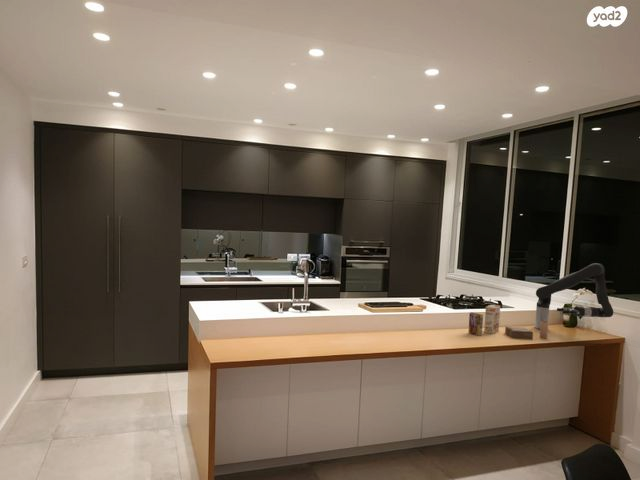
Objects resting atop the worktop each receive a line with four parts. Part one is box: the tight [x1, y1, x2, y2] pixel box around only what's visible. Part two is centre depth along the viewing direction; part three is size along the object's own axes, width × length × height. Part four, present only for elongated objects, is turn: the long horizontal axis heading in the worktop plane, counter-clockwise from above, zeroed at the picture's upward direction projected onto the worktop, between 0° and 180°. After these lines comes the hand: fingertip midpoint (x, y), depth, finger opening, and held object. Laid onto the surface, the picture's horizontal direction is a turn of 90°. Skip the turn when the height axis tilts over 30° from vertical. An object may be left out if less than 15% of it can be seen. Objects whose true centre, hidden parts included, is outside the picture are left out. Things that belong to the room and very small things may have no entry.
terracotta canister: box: [539, 320, 549, 339], centre depth 326 cm, size 5×5×13 cm
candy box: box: [467, 312, 484, 337], centre depth 325 cm, size 9×4×15 cm, turn 39°
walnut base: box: [504, 326, 534, 340], centre depth 326 cm, size 14×14×5 cm
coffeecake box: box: [483, 304, 501, 335], centre depth 336 cm, size 15×7×20 cm, turn 143°
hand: (560, 310), depth 325 cm, fingers open, 8 cm apart
